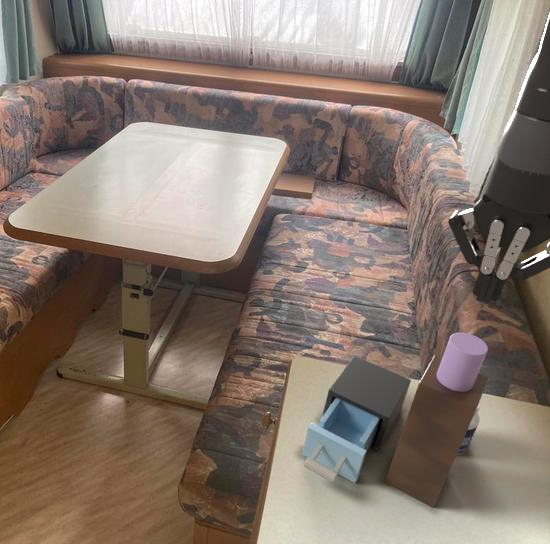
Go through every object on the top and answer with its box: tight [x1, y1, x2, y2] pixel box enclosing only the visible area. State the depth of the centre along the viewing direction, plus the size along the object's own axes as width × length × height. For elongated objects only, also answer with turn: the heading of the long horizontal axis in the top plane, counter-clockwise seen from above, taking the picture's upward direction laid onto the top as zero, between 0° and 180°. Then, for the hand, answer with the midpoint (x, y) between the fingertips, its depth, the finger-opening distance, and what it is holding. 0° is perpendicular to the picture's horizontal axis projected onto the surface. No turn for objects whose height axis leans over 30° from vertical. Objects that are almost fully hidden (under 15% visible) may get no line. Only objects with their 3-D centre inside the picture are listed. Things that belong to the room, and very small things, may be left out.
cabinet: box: [321, 355, 412, 450], centre depth 93 cm, size 11×10×8 cm
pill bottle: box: [456, 401, 481, 456], centre depth 88 cm, size 5×5×10 cm
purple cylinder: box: [437, 332, 489, 392], centre depth 72 cm, size 4×4×6 cm
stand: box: [384, 355, 489, 509], centre depth 79 cm, size 7×7×20 cm
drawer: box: [301, 397, 382, 484], centre depth 85 cm, size 14×8×6 cm, turn 145°
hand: (484, 299), depth 67 cm, fingers closed
